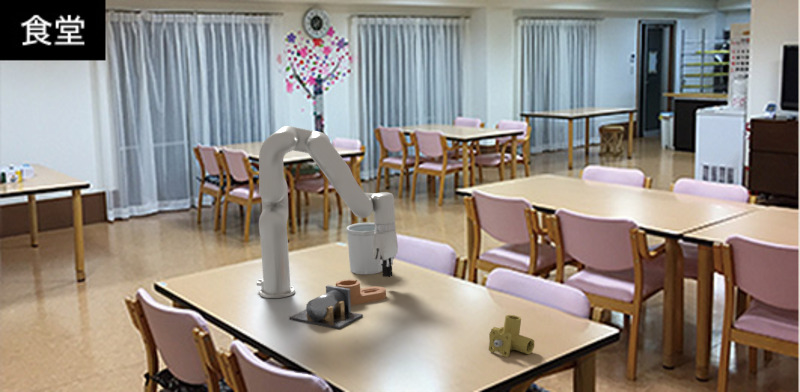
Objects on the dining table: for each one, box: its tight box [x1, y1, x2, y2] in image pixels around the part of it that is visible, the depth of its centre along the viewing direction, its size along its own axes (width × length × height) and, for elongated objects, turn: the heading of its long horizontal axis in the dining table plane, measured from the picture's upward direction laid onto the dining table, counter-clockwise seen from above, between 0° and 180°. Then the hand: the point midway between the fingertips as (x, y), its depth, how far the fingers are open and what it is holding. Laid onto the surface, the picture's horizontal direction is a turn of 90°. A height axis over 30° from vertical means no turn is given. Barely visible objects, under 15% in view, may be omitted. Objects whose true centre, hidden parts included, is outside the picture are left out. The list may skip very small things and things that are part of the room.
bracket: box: [335, 279, 387, 306], centre depth 277 cm, size 18×8×7 cm, turn 116°
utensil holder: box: [346, 222, 383, 275], centre depth 313 cm, size 15×15×18 cm
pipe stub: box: [288, 284, 364, 330], centre depth 259 cm, size 20×14×8 cm
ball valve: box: [488, 314, 535, 358], centre depth 226 cm, size 13×10×10 cm
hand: (387, 276), depth 289 cm, fingers closed
